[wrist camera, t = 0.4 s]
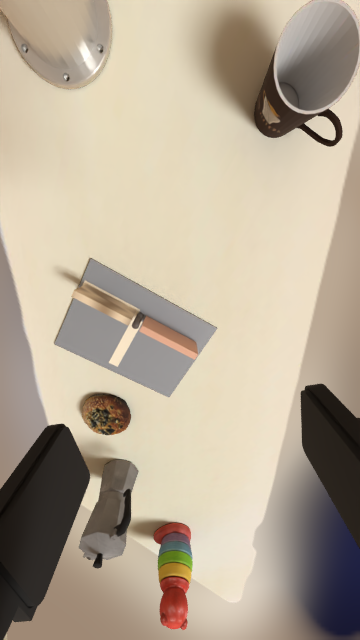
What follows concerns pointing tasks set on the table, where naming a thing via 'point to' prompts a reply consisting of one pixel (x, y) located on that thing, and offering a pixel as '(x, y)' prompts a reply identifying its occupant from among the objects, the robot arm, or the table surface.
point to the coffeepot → (110, 513)
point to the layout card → (131, 332)
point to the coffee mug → (310, 69)
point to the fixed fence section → (107, 305)
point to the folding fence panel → (169, 337)
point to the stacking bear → (174, 573)
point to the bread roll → (106, 414)
